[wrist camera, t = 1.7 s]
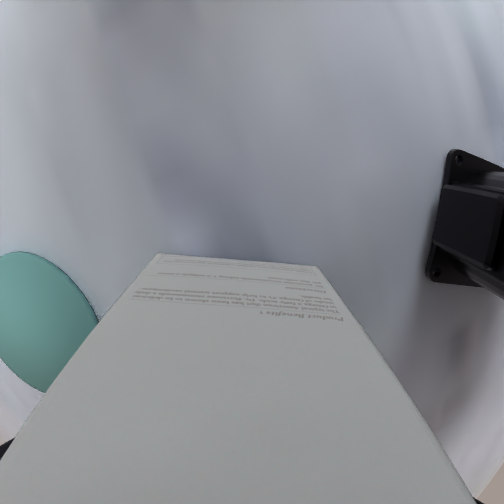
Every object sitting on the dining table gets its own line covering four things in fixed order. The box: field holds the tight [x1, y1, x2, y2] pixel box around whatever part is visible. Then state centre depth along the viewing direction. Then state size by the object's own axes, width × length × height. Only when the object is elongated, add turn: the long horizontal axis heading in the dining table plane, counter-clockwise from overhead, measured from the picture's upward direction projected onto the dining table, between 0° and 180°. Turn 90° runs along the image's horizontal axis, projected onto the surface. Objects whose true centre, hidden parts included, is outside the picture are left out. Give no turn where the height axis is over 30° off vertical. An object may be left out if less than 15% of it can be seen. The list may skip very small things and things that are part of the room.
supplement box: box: [0, 253, 477, 504], centre depth 8 cm, size 7×7×13 cm
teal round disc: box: [0, 252, 98, 393], centre depth 14 cm, size 9×9×1 cm
